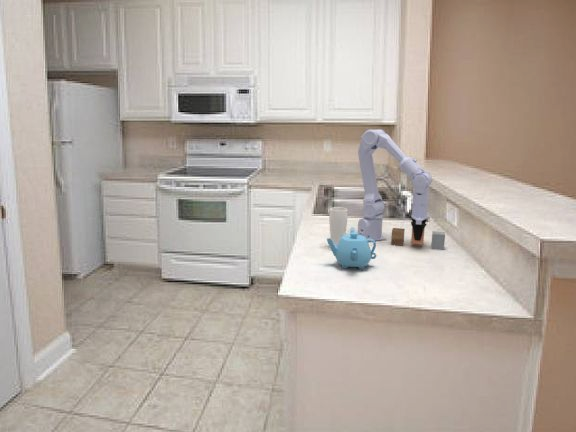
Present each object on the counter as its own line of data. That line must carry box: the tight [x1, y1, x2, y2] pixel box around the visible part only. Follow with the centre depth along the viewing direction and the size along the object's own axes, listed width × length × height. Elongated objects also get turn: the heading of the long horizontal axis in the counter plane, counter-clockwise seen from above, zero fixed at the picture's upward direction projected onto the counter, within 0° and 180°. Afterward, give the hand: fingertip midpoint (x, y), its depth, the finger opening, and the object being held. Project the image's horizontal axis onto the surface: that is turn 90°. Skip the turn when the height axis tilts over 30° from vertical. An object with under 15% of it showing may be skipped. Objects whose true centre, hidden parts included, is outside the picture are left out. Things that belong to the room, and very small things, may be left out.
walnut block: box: [390, 227, 405, 247], centre depth 171 cm, size 4×4×6 cm
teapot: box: [326, 227, 377, 271], centre depth 145 cm, size 15×14×11 cm
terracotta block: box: [410, 226, 426, 245], centre depth 169 cm, size 4×4×6 cm
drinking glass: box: [328, 206, 349, 246], centre depth 165 cm, size 7×7×15 cm
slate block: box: [430, 230, 446, 251], centre depth 167 cm, size 4×4×6 cm
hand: (417, 238), depth 169 cm, fingers closed on terracotta block, 4 cm apart
